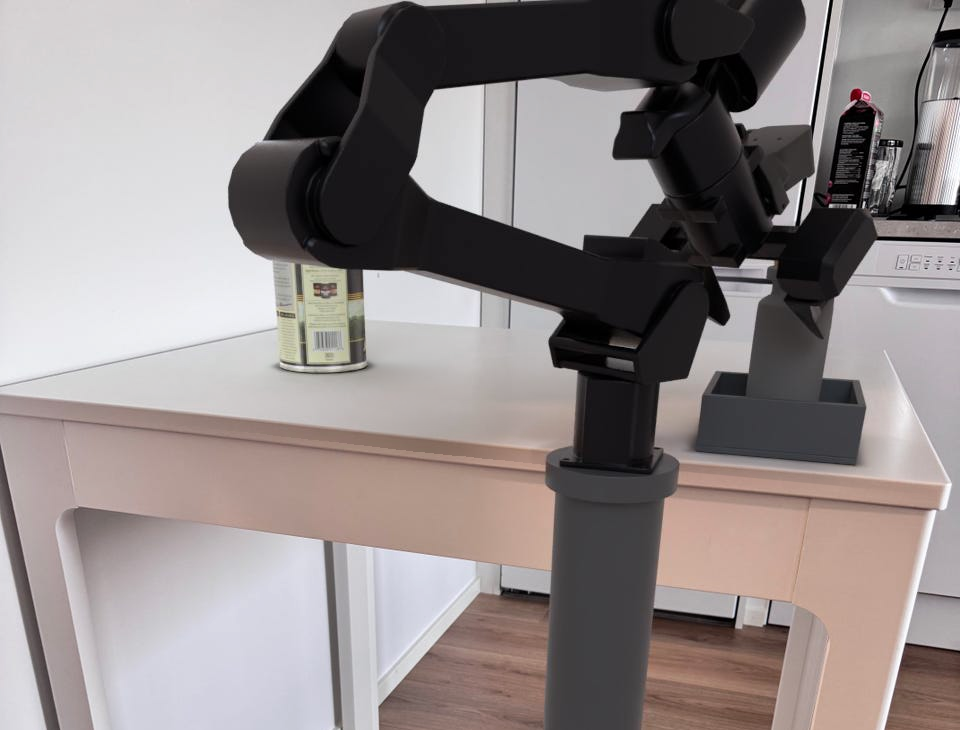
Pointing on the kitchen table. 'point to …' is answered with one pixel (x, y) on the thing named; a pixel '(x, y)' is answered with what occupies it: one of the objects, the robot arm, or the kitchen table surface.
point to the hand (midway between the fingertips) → (773, 327)
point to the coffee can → (319, 318)
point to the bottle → (784, 351)
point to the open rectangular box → (782, 421)
